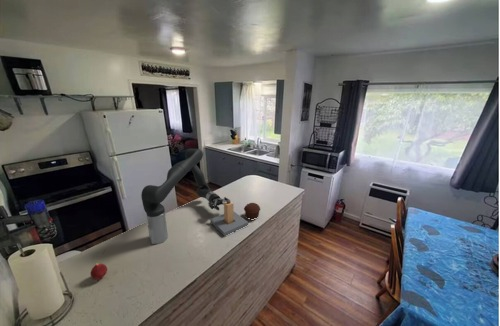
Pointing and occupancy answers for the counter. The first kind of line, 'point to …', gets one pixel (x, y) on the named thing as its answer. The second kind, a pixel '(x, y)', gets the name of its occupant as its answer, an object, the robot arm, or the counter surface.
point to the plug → (228, 212)
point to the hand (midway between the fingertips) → (224, 207)
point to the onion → (98, 271)
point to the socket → (229, 228)
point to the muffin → (252, 210)
